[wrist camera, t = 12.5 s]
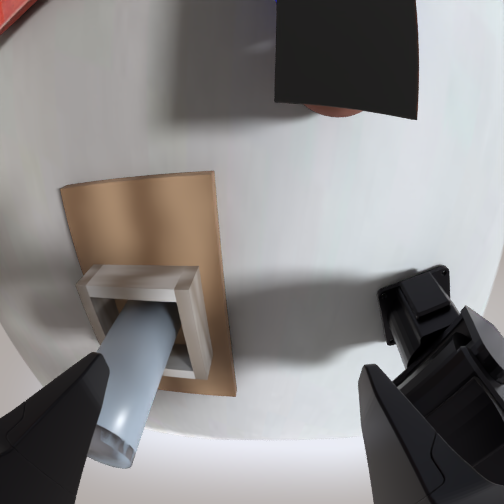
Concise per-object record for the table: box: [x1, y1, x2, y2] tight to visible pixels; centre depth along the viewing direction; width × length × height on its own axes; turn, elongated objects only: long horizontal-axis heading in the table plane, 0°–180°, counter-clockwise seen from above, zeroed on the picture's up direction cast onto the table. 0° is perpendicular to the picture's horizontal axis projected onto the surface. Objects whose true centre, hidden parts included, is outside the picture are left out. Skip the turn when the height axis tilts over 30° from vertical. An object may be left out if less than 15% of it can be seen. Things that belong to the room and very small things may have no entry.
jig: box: [60, 171, 237, 397], centre depth 23 cm, size 12×22×4 cm, turn 2°
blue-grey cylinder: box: [87, 300, 181, 469], centre depth 18 cm, size 5×5×13 cm
